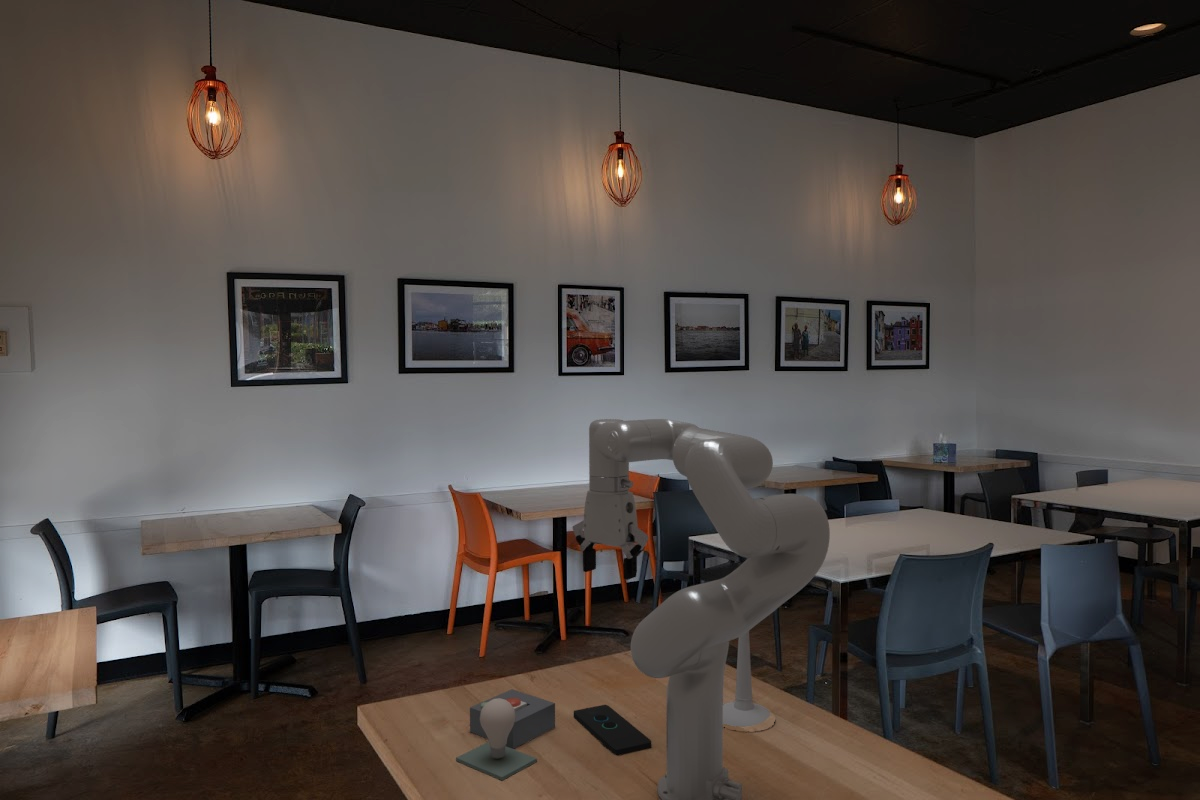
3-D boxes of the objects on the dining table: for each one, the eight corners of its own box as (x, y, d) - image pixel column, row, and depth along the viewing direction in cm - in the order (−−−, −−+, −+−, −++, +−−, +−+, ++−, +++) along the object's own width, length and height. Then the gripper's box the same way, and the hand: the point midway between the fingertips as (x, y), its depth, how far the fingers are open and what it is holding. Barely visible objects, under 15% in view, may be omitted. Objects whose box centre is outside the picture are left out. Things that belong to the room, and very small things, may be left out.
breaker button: (526, 717, 167) (526, 700, 167) (512, 724, 164) (512, 706, 164) (512, 712, 170) (512, 695, 170) (498, 719, 167) (498, 701, 166)
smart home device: (607, 703, 177) (653, 740, 159) (607, 711, 177) (653, 749, 159) (571, 710, 173) (614, 749, 155) (571, 718, 173) (614, 758, 155)
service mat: (536, 761, 153) (536, 758, 153) (502, 780, 146) (502, 777, 146) (491, 743, 161) (491, 740, 161) (456, 760, 154) (456, 757, 154)
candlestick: (699, 718, 172) (699, 574, 171) (739, 701, 181) (739, 564, 180) (748, 738, 163) (749, 586, 162) (788, 720, 171) (788, 575, 170)
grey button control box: (555, 727, 168) (555, 699, 168) (513, 748, 158) (513, 718, 158) (512, 712, 175) (512, 685, 175) (470, 732, 166) (469, 703, 166)
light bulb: (509, 768, 150) (509, 708, 149) (474, 765, 151) (474, 705, 150) (520, 751, 156) (519, 693, 156) (486, 748, 157) (486, 691, 157)
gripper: (658, 486, 155) (658, 577, 156) (586, 478, 166) (586, 564, 166) (634, 490, 149) (634, 585, 150) (561, 483, 160) (562, 571, 160)
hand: (609, 574), depth 158 cm, fingers open, 9 cm apart
